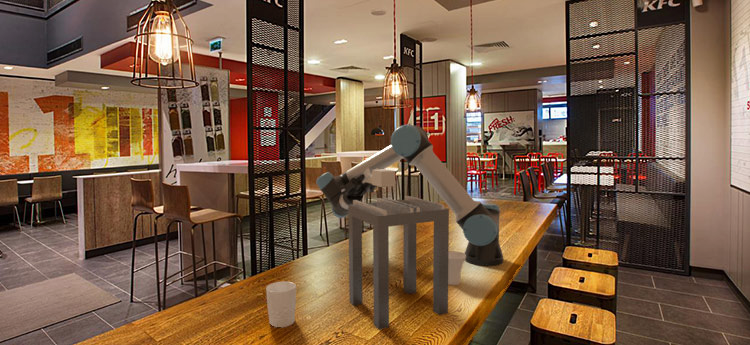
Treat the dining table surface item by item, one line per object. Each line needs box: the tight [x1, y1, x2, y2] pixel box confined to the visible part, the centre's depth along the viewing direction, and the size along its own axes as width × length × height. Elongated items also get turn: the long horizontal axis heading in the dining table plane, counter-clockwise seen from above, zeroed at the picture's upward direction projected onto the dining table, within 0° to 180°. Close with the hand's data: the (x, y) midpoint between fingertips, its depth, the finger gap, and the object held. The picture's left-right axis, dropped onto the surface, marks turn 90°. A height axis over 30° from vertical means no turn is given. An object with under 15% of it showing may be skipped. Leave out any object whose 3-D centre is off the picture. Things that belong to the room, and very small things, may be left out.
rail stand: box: [347, 195, 450, 330], centre depth 118 cm, size 20×22×31 cm
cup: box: [448, 250, 466, 286], centre depth 139 cm, size 9×9×10 cm
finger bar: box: [365, 168, 396, 188], centre depth 139 cm, size 19×5×5 cm, turn 26°
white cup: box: [265, 281, 297, 328], centre depth 110 cm, size 8×8×10 cm
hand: (373, 171), depth 141 cm, fingers closed on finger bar, 3 cm apart
